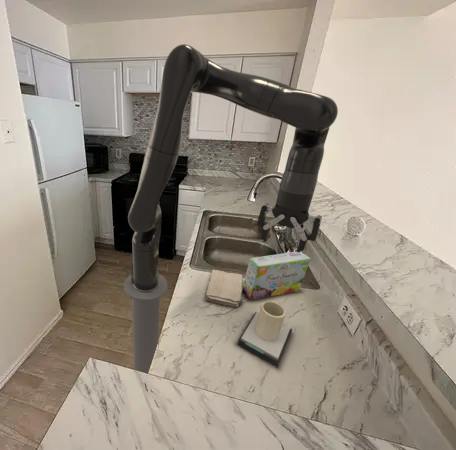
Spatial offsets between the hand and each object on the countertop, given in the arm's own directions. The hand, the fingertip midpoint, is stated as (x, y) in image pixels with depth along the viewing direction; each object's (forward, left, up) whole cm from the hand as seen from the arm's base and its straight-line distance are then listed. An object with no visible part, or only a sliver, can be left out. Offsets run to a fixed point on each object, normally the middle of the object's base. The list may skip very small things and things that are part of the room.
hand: (281, 245), depth 69 cm
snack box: (-2, +17, -28) cm, 33 cm away
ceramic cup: (+3, -6, -25) cm, 26 cm away
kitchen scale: (+3, -6, -28) cm, 29 cm away
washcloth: (-16, +7, -28) cm, 33 cm away
